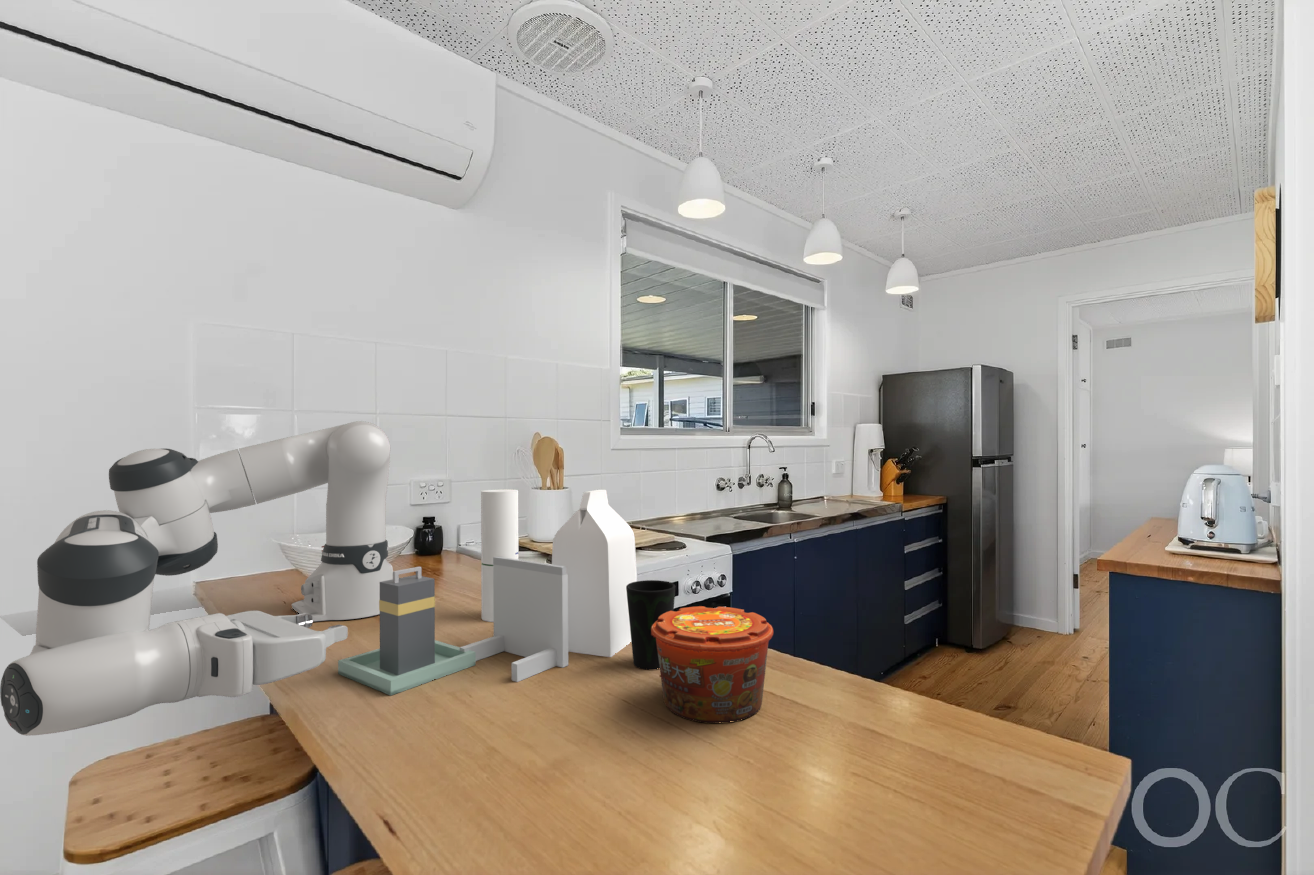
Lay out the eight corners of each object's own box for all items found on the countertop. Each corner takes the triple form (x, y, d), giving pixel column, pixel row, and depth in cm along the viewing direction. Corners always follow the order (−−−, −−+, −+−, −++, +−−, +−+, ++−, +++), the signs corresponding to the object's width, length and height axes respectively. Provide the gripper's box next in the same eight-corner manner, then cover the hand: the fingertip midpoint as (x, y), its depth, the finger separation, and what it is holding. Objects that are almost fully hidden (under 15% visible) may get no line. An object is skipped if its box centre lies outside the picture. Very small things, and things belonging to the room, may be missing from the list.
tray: (338, 673, 91) (338, 660, 91) (422, 648, 102) (422, 636, 102) (390, 695, 83) (390, 680, 83) (475, 665, 94) (475, 652, 94)
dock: (454, 661, 96) (453, 564, 96) (499, 646, 103) (498, 556, 103) (523, 684, 87) (523, 576, 87) (568, 665, 94) (567, 566, 94)
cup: (652, 651, 100) (651, 577, 100) (686, 662, 95) (685, 585, 95) (616, 663, 95) (615, 585, 95) (650, 676, 89) (650, 594, 89)
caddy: (379, 668, 92) (379, 570, 92) (416, 657, 97) (415, 564, 97) (398, 676, 89) (398, 574, 89) (435, 663, 94) (435, 567, 94)
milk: (610, 657, 97) (609, 494, 98) (548, 648, 102) (547, 492, 102) (640, 635, 109) (639, 489, 109) (583, 628, 113) (582, 487, 113)
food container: (687, 741, 70) (686, 647, 70) (632, 691, 84) (632, 612, 84) (800, 714, 76) (799, 628, 76) (731, 672, 91) (730, 599, 91)
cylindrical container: (523, 612, 124) (522, 489, 125) (511, 622, 117) (511, 492, 117) (489, 611, 125) (489, 489, 125) (475, 621, 118) (475, 492, 118)
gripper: (175, 662, 78) (291, 635, 89) (242, 701, 66) (366, 663, 77) (175, 613, 78) (291, 591, 89) (242, 642, 66) (366, 613, 77)
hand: (327, 625), depth 83 cm, fingers open, 8 cm apart
